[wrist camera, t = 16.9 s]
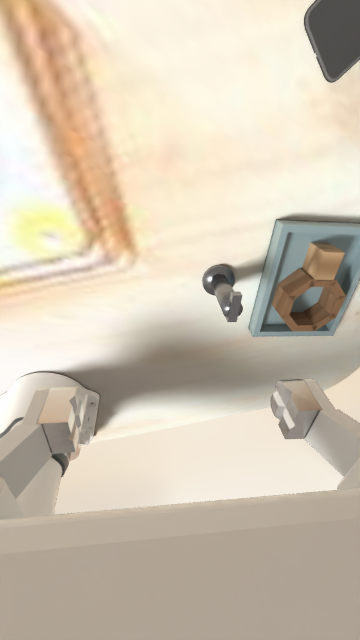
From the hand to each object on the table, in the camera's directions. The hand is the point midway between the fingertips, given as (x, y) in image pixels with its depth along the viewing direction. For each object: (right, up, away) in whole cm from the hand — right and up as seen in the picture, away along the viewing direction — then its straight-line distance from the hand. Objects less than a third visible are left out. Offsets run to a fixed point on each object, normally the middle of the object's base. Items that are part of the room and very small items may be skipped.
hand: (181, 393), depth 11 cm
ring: (+20, +9, +34) cm, 40 cm away
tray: (+20, +9, +34) cm, 41 cm away
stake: (+6, +9, +32) cm, 34 cm away
